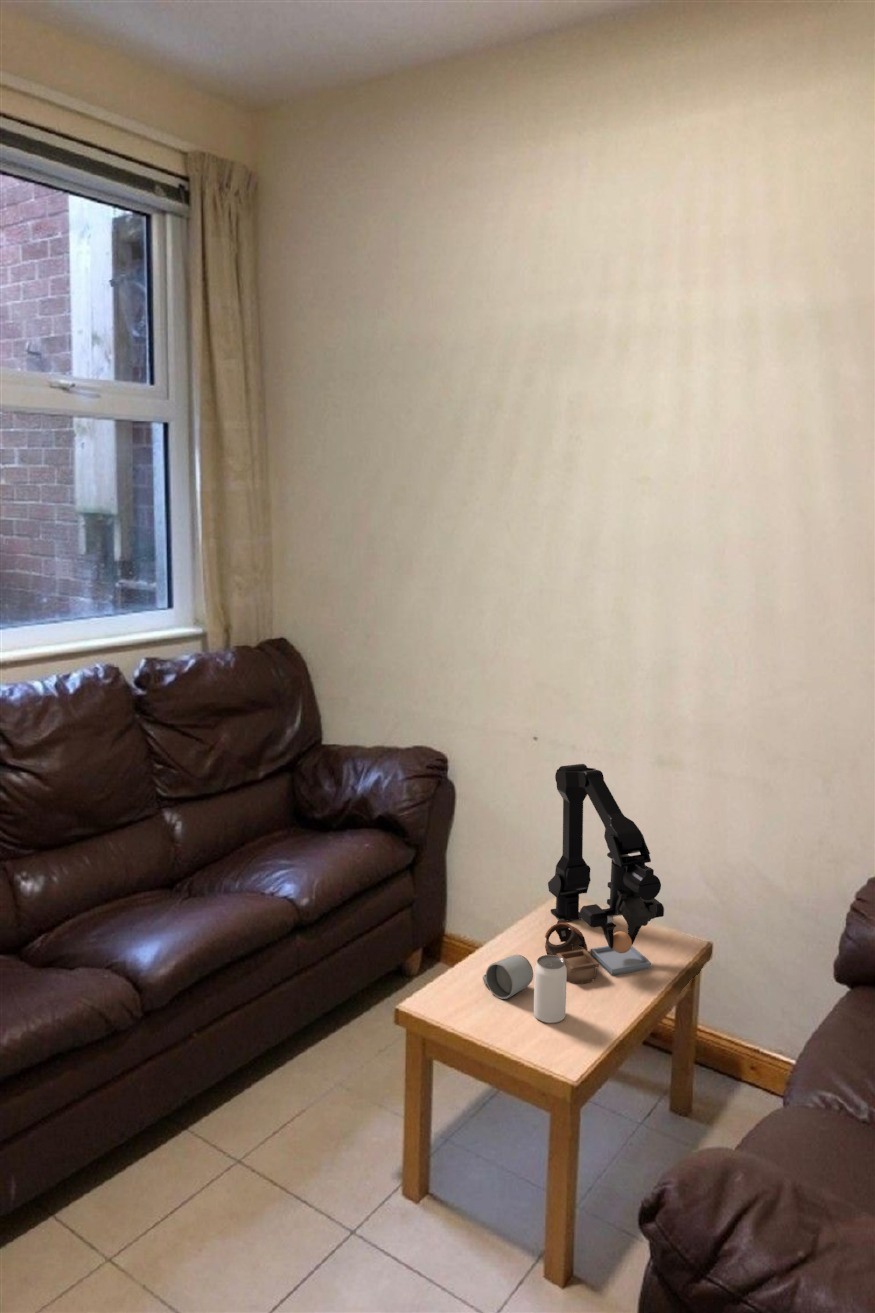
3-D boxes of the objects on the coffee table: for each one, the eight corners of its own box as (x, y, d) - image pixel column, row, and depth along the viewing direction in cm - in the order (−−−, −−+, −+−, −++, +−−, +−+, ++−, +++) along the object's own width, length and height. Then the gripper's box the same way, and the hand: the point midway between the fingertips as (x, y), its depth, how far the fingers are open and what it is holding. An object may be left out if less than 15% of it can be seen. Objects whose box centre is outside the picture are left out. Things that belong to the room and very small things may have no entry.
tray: (590, 954, 216) (590, 948, 216) (628, 948, 219) (628, 942, 219) (611, 975, 207) (611, 969, 207) (651, 968, 210) (651, 962, 210)
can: (570, 1012, 192) (572, 959, 190) (557, 1028, 187) (559, 972, 185) (541, 1003, 196) (542, 950, 194) (528, 1018, 190) (529, 964, 188)
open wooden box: (552, 968, 210) (553, 953, 209) (584, 963, 213) (585, 947, 212) (569, 986, 203) (569, 970, 202) (601, 980, 205) (602, 964, 204)
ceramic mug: (535, 989, 201) (536, 956, 200) (512, 1005, 195) (512, 970, 194) (497, 973, 208) (497, 941, 207) (473, 987, 202) (473, 954, 201)
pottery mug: (595, 963, 214) (583, 939, 210) (558, 979, 214) (545, 956, 211) (581, 927, 224) (569, 904, 221) (545, 943, 225) (533, 920, 221)
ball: (606, 948, 214) (606, 929, 213) (624, 945, 216) (625, 926, 215) (616, 958, 210) (617, 938, 209) (635, 955, 211) (636, 935, 210)
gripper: (604, 902, 199) (601, 970, 202) (679, 891, 205) (675, 956, 208) (580, 881, 210) (577, 946, 212) (652, 871, 216) (649, 934, 218)
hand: (620, 946), depth 213 cm, fingers closed on ball, 5 cm apart
